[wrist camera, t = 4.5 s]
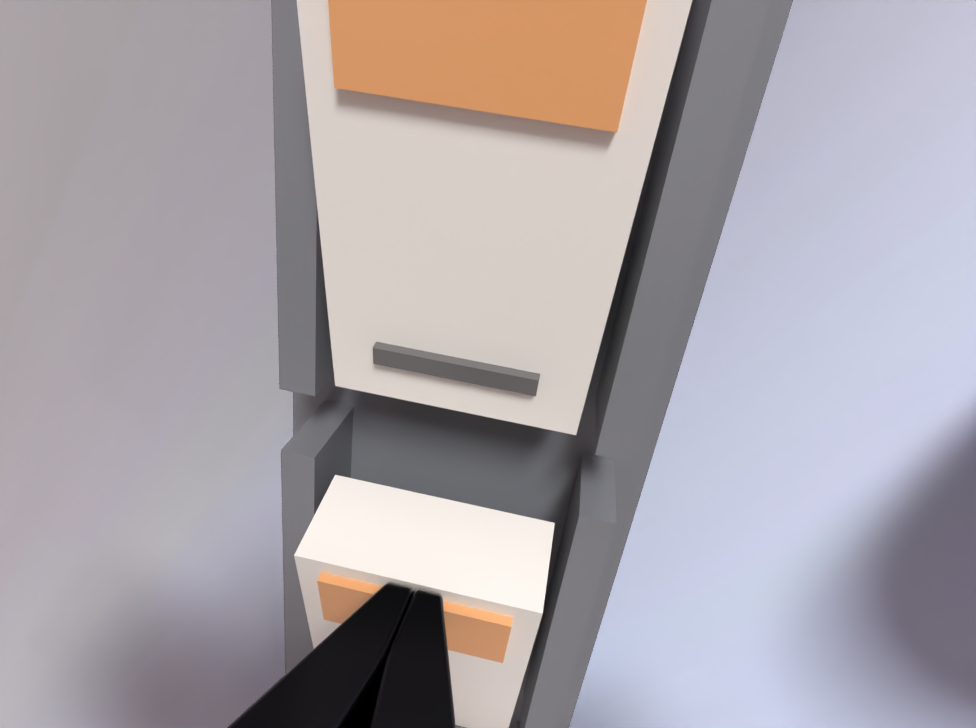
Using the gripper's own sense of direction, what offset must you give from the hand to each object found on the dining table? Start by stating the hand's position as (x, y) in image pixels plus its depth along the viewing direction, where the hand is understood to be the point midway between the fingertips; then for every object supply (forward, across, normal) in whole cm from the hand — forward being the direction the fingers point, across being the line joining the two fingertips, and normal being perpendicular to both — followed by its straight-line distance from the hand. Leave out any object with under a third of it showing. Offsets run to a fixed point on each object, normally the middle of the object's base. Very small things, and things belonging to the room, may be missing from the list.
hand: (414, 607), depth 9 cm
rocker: (+2, 0, -6) cm, 6 cm away
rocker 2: (+2, 0, +2) cm, 3 cm away
